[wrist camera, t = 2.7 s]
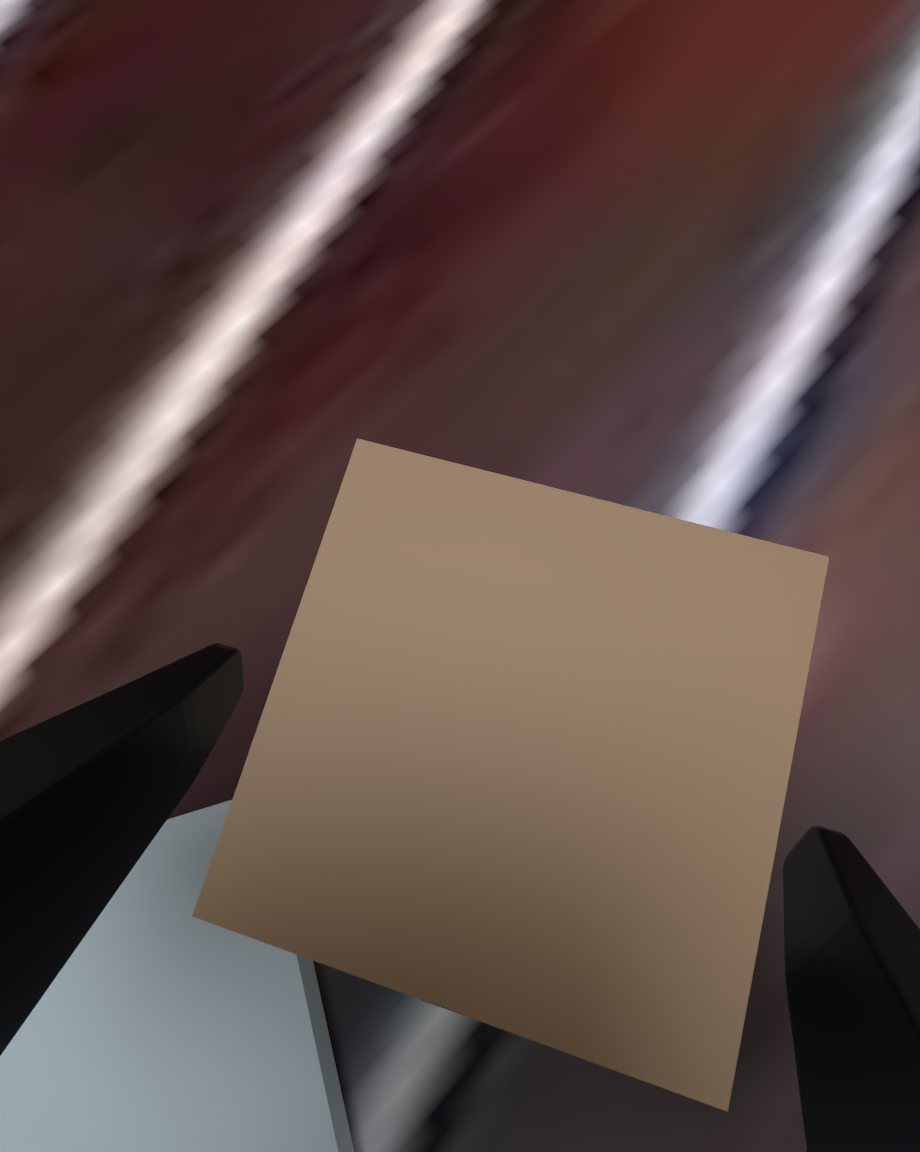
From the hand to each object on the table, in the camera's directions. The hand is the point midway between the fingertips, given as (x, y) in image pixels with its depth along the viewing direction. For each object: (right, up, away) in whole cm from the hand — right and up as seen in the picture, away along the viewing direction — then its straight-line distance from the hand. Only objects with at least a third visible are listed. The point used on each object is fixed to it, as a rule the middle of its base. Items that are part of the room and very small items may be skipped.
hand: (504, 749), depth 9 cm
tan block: (+1, -1, +8) cm, 8 cm away
